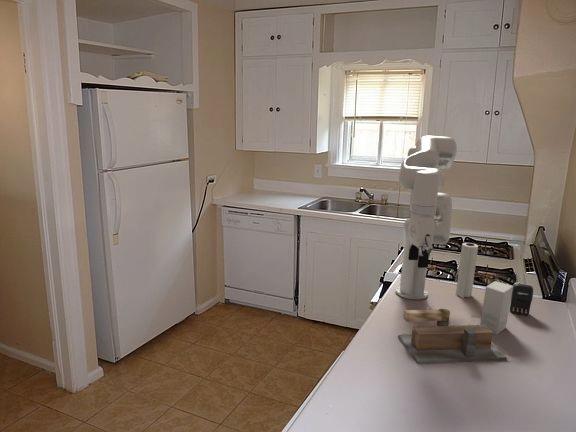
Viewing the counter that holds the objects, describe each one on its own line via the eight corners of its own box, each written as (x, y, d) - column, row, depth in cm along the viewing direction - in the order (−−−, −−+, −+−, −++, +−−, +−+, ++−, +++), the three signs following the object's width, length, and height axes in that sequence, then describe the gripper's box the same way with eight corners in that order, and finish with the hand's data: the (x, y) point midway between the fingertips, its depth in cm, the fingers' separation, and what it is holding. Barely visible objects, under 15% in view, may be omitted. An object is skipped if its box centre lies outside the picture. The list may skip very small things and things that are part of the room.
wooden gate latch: (397, 336, 152) (400, 312, 150) (478, 334, 156) (481, 310, 154) (417, 363, 136) (420, 336, 134) (506, 360, 140) (510, 334, 138)
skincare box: (488, 321, 166) (494, 280, 163) (507, 328, 162) (514, 285, 158) (478, 328, 160) (484, 285, 157) (498, 335, 156) (504, 291, 152)
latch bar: (445, 316, 153) (446, 308, 152) (451, 321, 149) (452, 313, 149) (402, 317, 151) (403, 309, 150) (406, 322, 147) (407, 314, 147)
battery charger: (509, 313, 174) (513, 284, 171) (508, 309, 177) (513, 281, 174) (529, 317, 171) (534, 288, 168) (529, 313, 174) (534, 284, 172)
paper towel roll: (461, 290, 194) (468, 241, 189) (474, 295, 189) (481, 245, 184) (450, 294, 190) (457, 243, 185) (463, 299, 185) (470, 247, 180)
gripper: (401, 204, 155) (397, 255, 159) (423, 216, 139) (417, 272, 143) (423, 204, 157) (417, 255, 161) (447, 216, 140) (440, 272, 144)
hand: (417, 263), depth 152 cm, fingers open, 6 cm apart
